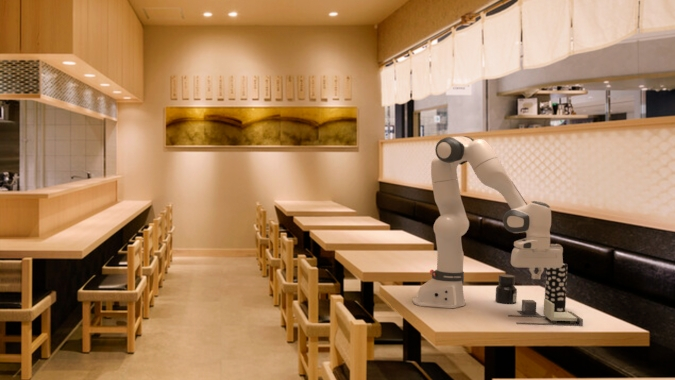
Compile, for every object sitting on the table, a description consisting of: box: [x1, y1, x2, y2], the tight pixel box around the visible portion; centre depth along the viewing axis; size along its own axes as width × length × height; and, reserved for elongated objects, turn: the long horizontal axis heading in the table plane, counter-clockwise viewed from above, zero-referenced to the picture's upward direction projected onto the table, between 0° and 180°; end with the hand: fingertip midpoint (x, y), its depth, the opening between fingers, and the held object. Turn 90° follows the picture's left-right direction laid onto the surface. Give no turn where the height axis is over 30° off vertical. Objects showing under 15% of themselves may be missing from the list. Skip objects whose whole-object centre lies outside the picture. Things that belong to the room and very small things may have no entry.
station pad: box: [516, 310, 542, 316], centre depth 262 cm, size 8×8×1 cm
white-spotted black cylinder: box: [544, 262, 568, 312], centre depth 269 cm, size 8×8×20 cm
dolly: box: [542, 298, 577, 324], centre depth 250 cm, size 10×9×8 cm
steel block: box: [521, 299, 537, 315], centre depth 262 cm, size 4×4×5 cm
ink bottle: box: [494, 274, 518, 305], centre depth 282 cm, size 10×9×12 cm
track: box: [507, 311, 584, 327], centre depth 250 cm, size 25×12×3 cm, turn 90°
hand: (535, 278), depth 251 cm, fingers closed
